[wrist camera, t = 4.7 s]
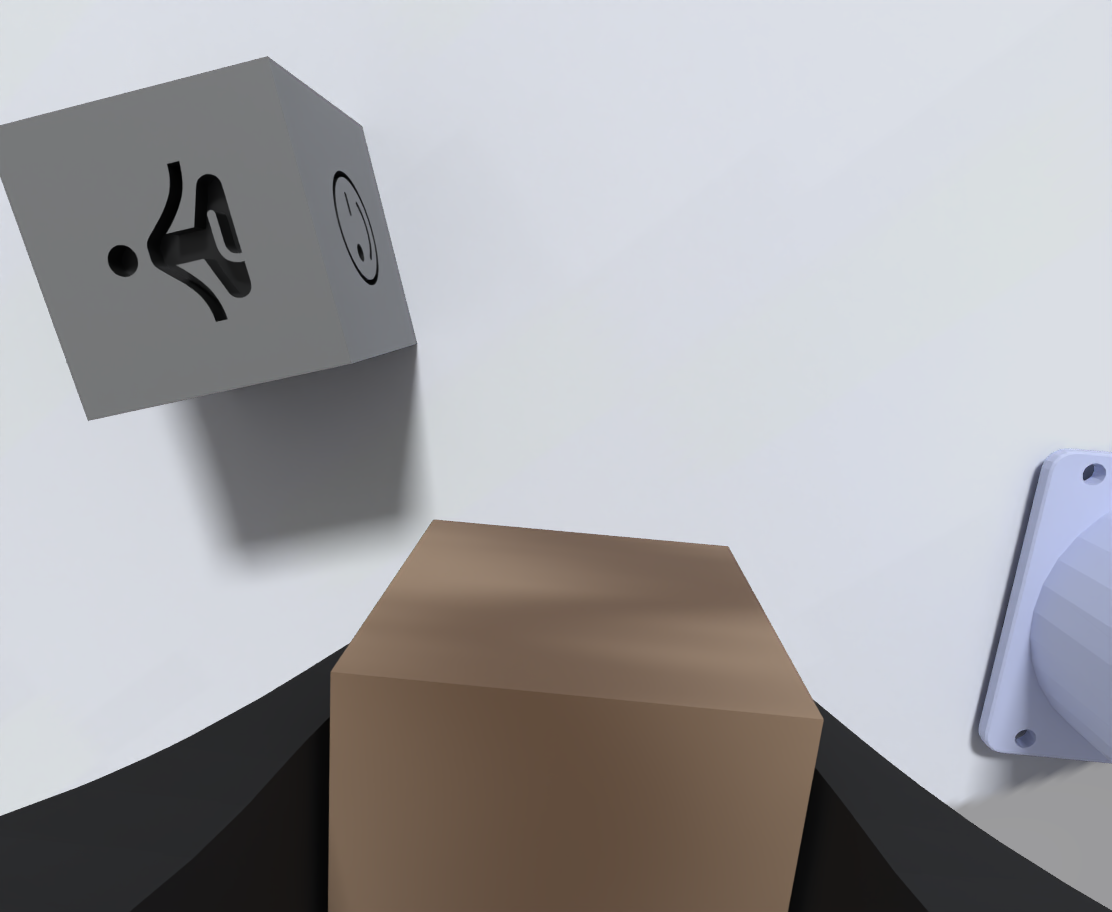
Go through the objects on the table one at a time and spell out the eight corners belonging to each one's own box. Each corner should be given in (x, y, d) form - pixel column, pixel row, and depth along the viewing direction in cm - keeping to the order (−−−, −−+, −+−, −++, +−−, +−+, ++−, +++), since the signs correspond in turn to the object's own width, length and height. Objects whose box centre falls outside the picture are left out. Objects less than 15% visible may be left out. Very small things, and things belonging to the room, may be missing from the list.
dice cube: (417, 343, 17) (352, 363, 12) (224, 385, 18) (87, 420, 13) (362, 126, 16) (267, 56, 11) (159, 176, 17) (-17, 129, 12)
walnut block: (728, 546, 11) (823, 719, 6) (691, 802, 12) (752, 1101, 7) (433, 519, 11) (329, 671, 6) (421, 775, 12) (327, 1055, 7)
